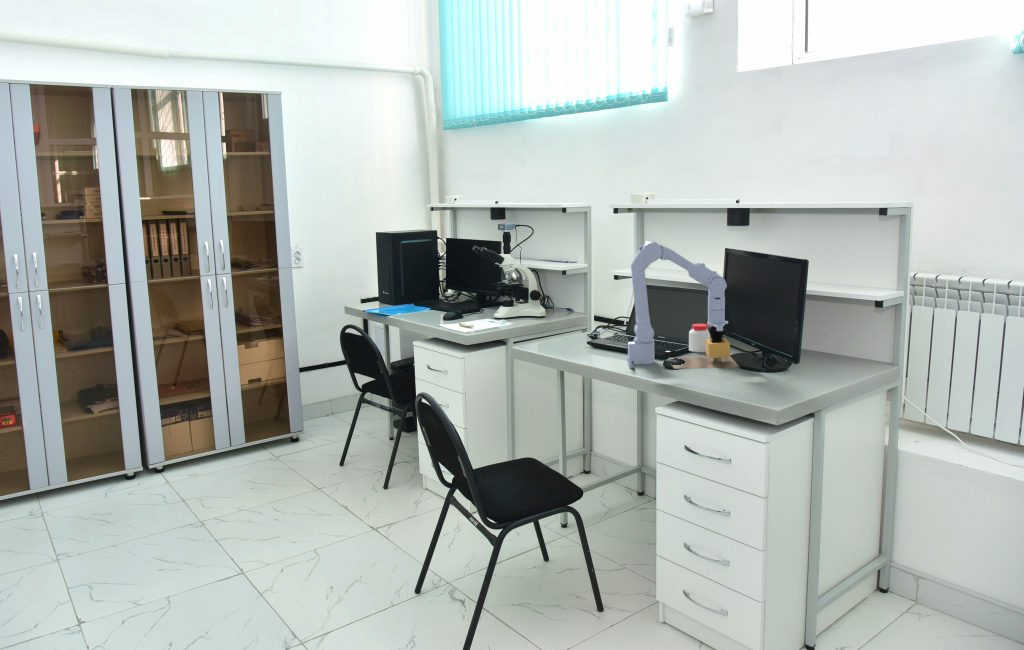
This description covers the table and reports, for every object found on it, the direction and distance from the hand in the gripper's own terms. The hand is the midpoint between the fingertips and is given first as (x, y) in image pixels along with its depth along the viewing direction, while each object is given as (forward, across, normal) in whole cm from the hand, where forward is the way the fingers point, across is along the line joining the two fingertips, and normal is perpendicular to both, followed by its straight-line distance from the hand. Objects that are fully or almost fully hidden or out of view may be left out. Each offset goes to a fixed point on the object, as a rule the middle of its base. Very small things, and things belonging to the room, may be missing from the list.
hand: (716, 347), depth 267 cm
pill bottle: (+6, +17, +3) cm, 18 cm away
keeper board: (+6, -3, +5) cm, 8 cm away
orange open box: (+2, -3, 0) cm, 4 cm away
